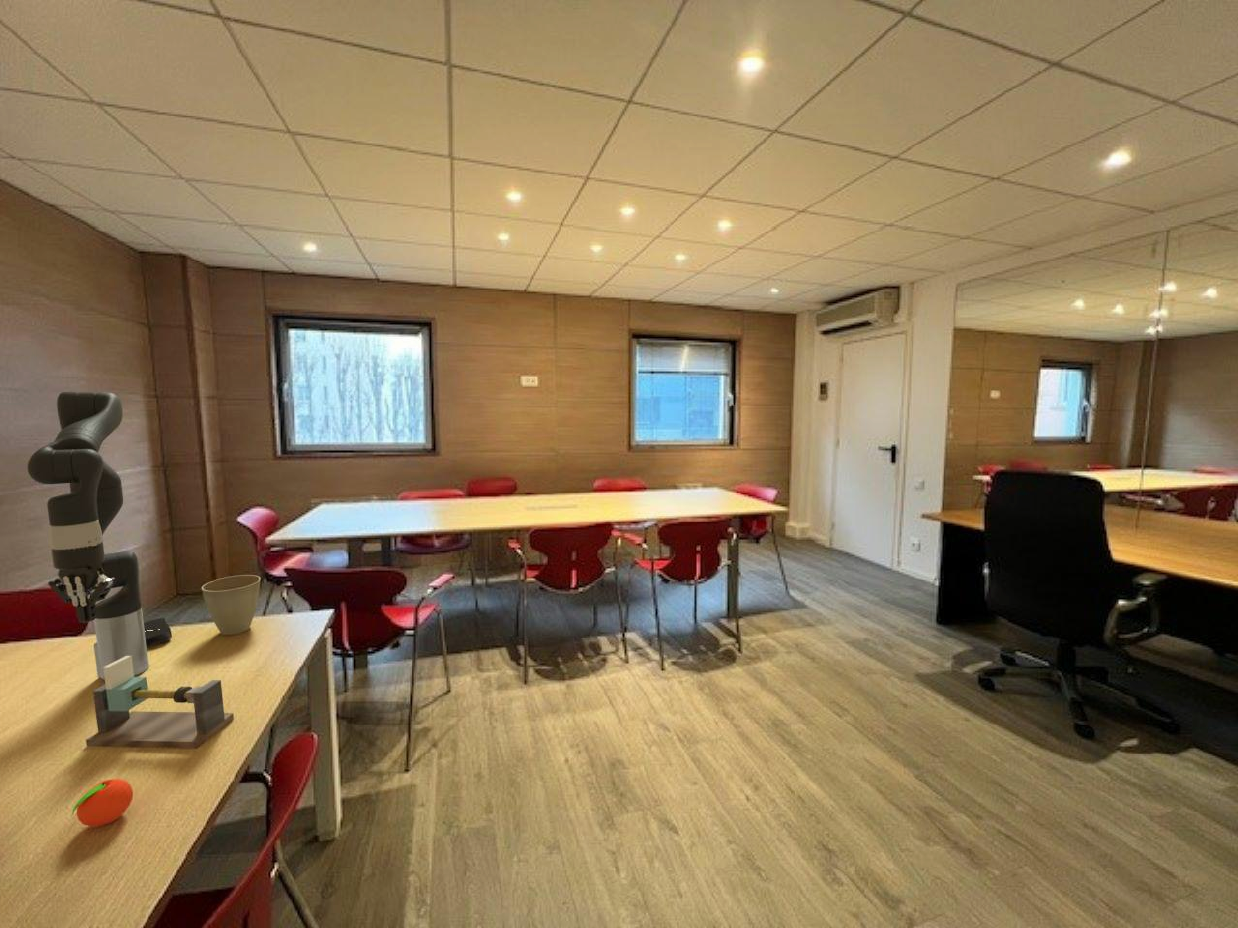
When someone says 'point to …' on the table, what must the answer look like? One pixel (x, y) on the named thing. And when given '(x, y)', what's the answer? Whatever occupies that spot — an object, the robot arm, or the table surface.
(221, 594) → the plant pot
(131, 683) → the teal sliding block
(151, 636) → the black sponge
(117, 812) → the clementine
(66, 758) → the table surface
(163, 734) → the horizontal rod stand
